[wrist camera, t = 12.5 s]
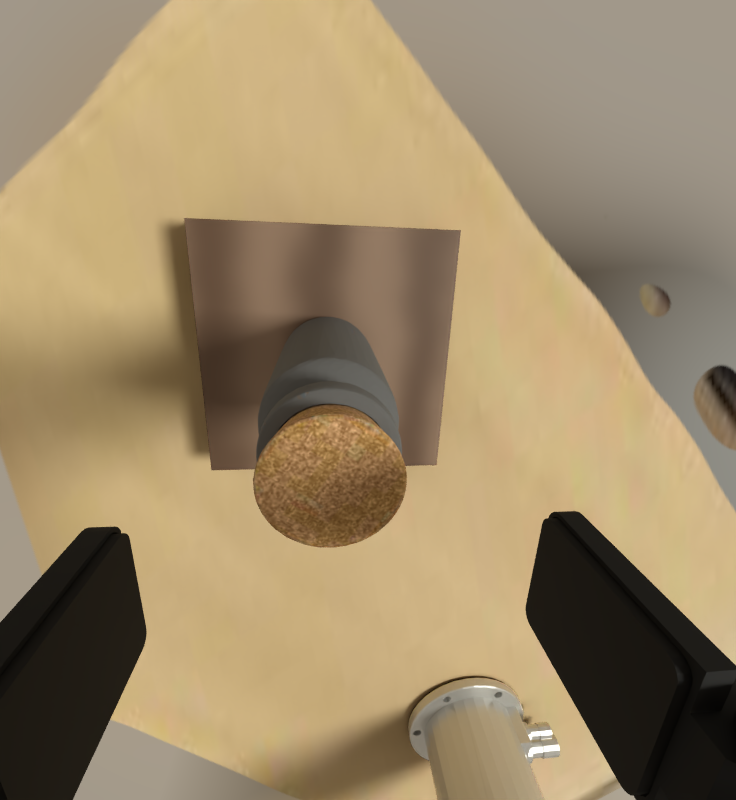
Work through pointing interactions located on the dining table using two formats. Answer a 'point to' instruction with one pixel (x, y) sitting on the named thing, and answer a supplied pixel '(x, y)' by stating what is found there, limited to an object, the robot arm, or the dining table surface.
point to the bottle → (328, 439)
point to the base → (319, 297)
